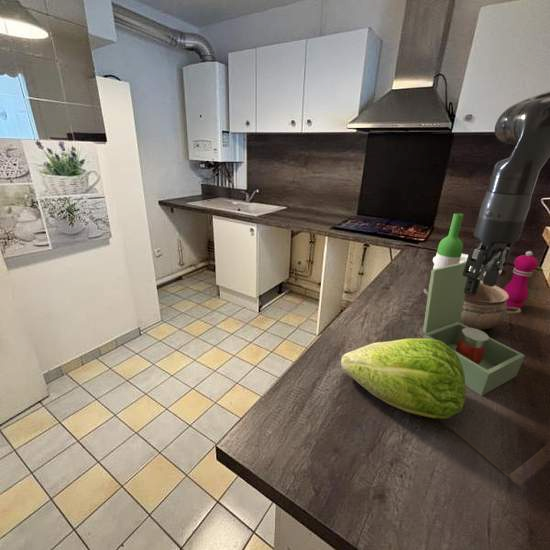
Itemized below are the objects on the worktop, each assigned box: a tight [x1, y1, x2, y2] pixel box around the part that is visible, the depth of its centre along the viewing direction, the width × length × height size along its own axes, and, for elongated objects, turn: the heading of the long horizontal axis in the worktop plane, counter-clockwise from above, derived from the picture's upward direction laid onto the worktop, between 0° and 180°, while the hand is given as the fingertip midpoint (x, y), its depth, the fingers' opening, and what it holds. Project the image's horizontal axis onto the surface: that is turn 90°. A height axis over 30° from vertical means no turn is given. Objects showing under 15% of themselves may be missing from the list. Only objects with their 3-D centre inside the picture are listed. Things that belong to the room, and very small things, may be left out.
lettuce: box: [340, 337, 467, 420], centre depth 63 cm, size 15×24×16 cm
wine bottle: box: [428, 212, 464, 286], centre depth 106 cm, size 8×8×30 cm
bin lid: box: [422, 262, 470, 335], centre depth 74 cm, size 17×14×1 cm
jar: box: [456, 328, 490, 365], centre depth 70 cm, size 6×6×9 cm
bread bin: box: [422, 322, 526, 396], centre depth 71 cm, size 16×14×7 cm
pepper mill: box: [502, 250, 539, 310], centre depth 98 cm, size 7×7×20 cm
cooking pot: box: [423, 280, 522, 330], centre depth 89 cm, size 25×19×12 cm
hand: (479, 289), depth 64 cm, fingers open, 8 cm apart
